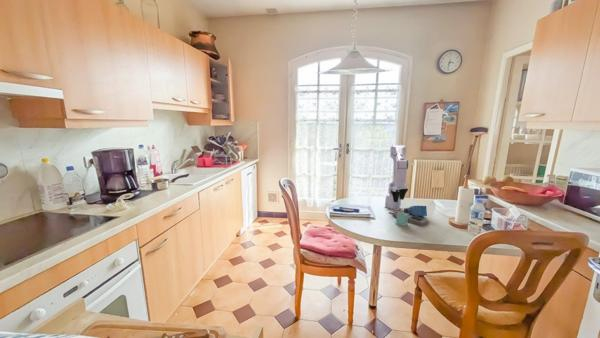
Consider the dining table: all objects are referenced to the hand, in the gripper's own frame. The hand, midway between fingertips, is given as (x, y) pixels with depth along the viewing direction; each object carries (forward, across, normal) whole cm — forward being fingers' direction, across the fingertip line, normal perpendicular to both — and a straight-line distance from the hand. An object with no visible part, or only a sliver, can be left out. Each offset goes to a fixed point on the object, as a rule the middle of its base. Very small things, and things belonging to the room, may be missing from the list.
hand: (398, 200), depth 150 cm
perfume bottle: (+6, +12, -11) cm, 18 cm away
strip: (+10, 0, -5) cm, 12 cm away
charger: (+11, -10, -8) cm, 16 cm away
